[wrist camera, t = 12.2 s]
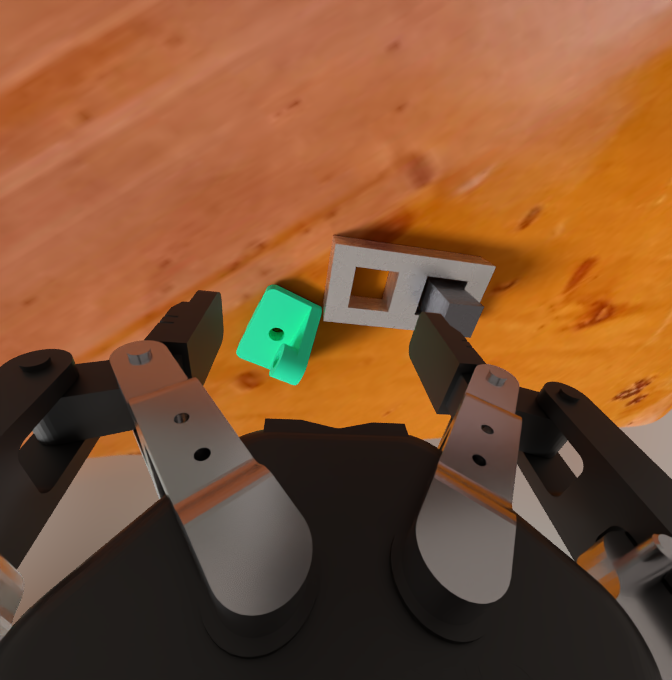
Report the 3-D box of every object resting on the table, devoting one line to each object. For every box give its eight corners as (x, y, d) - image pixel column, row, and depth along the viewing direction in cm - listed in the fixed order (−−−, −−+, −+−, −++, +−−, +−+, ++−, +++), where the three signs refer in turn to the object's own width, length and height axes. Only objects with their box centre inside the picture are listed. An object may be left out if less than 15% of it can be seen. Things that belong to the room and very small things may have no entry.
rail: (333, 235, 37) (335, 243, 34) (480, 256, 40) (496, 266, 37) (322, 307, 42) (323, 321, 39) (453, 321, 45) (465, 335, 42)
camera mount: (270, 278, 40) (260, 314, 31) (321, 303, 42) (324, 343, 34) (237, 345, 45) (220, 392, 36) (284, 364, 47) (279, 412, 39)
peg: (420, 271, 41) (449, 303, 32) (448, 274, 41) (484, 306, 33) (412, 298, 43) (438, 334, 34) (438, 300, 43) (470, 337, 35)
